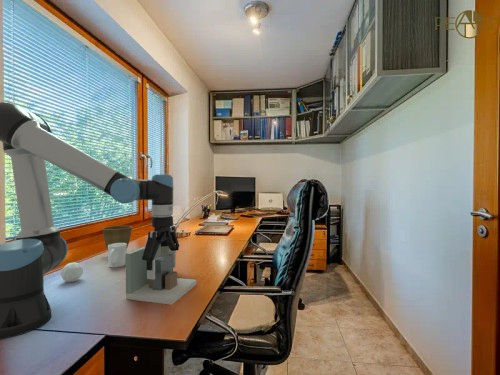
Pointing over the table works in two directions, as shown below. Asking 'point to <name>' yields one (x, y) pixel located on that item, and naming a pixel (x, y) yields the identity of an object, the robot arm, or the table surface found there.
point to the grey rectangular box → (162, 270)
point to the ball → (71, 272)
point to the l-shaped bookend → (143, 287)
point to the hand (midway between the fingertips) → (162, 272)
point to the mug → (117, 254)
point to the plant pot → (117, 234)
